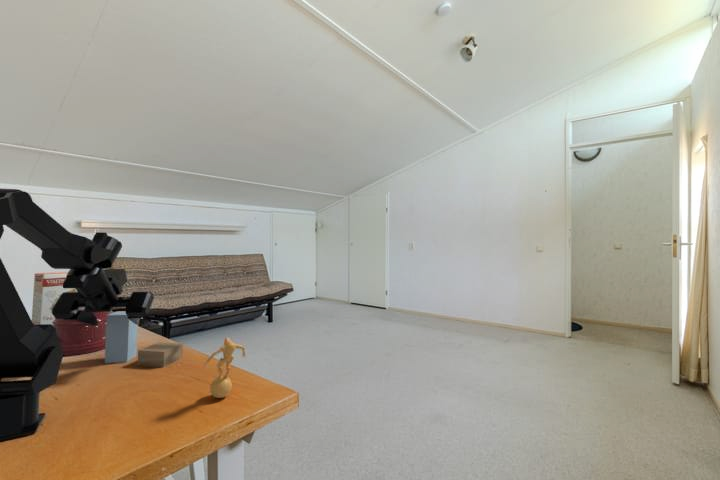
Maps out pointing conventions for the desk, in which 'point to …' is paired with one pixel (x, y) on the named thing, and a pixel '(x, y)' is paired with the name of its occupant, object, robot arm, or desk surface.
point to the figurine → (221, 383)
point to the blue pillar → (120, 338)
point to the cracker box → (47, 295)
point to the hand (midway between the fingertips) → (117, 323)
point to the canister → (81, 335)
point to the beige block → (160, 354)
